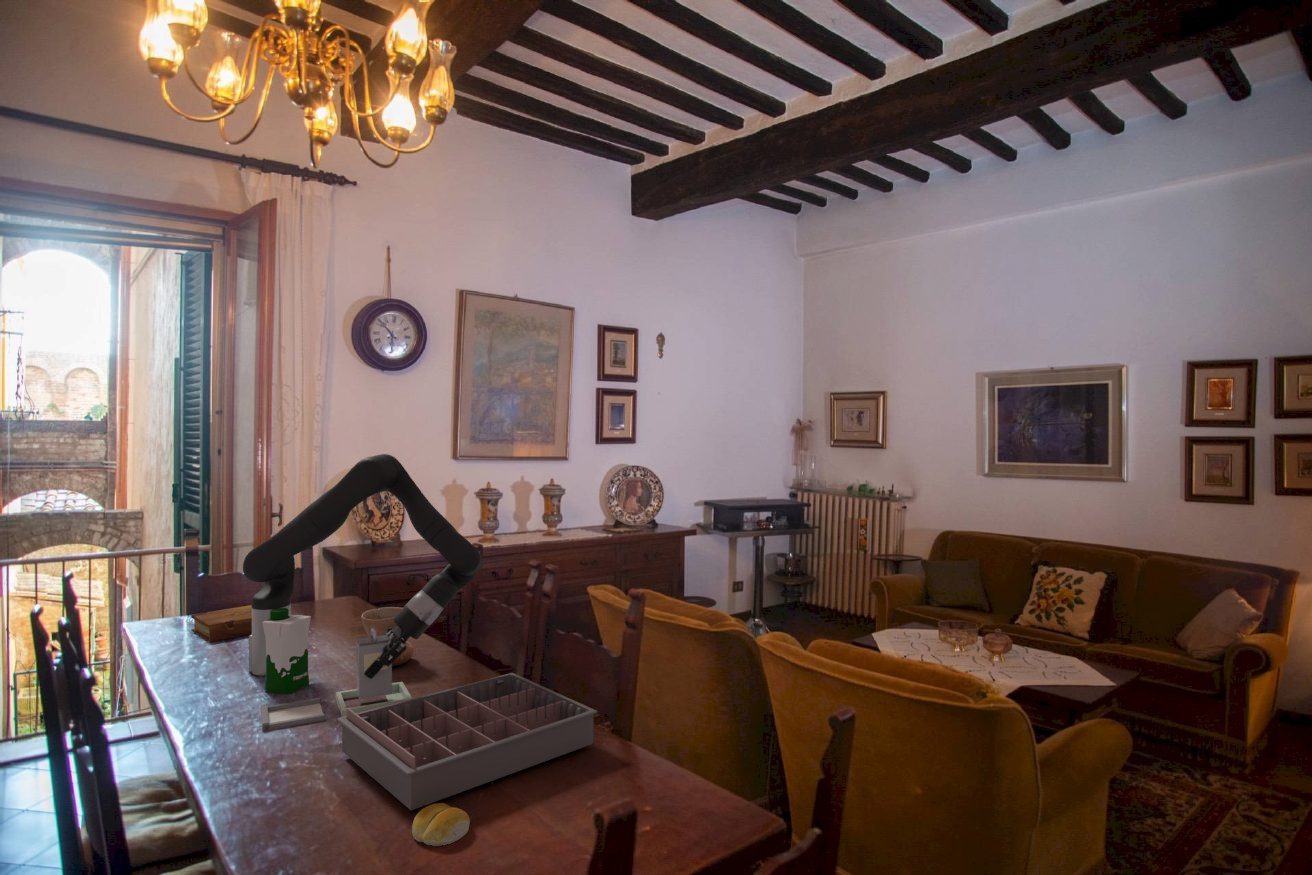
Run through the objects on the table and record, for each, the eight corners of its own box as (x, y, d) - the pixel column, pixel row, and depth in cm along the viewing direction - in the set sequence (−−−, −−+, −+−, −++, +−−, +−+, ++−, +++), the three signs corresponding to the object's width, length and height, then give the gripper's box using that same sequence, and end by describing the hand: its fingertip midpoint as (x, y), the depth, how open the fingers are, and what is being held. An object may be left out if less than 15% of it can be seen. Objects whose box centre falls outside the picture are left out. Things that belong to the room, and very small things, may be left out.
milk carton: (283, 684, 187) (283, 605, 187) (315, 687, 185) (315, 606, 185) (258, 697, 178) (257, 613, 178) (291, 699, 176) (291, 615, 176)
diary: (210, 644, 223) (209, 625, 223) (191, 632, 236) (191, 614, 235) (290, 629, 239) (290, 611, 239) (268, 618, 252) (268, 601, 252)
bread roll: (440, 813, 125) (439, 790, 125) (478, 829, 121) (478, 805, 120) (399, 836, 118) (399, 811, 118) (438, 854, 114) (438, 828, 113)
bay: (319, 706, 173) (319, 695, 172) (324, 724, 162) (324, 712, 162) (261, 715, 167) (261, 704, 167) (262, 735, 156) (262, 723, 156)
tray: (402, 691, 182) (402, 681, 182) (412, 709, 171) (412, 698, 171) (335, 702, 175) (335, 692, 175) (342, 722, 163) (342, 710, 163)
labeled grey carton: (388, 687, 177) (387, 625, 176) (392, 694, 172) (391, 630, 172) (356, 692, 173) (356, 629, 173) (359, 699, 169) (359, 634, 168)
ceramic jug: (347, 662, 205) (346, 610, 204) (397, 650, 215) (397, 601, 214) (373, 679, 192) (373, 625, 191) (426, 666, 202) (426, 614, 201)
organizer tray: (598, 750, 150) (598, 701, 150) (408, 822, 123) (407, 762, 122) (512, 706, 173) (512, 663, 173) (336, 758, 146) (336, 707, 146)
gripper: (401, 598, 182) (349, 654, 177) (413, 611, 170) (357, 672, 164) (423, 617, 185) (373, 673, 179) (437, 631, 172) (382, 691, 167)
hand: (365, 672), depth 172 cm, fingers closed on labeled grey carton, 5 cm apart
